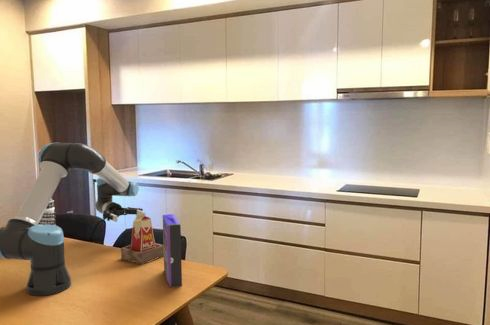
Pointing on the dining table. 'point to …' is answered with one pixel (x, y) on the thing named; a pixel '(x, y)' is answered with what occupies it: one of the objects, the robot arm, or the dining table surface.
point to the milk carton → (142, 234)
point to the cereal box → (172, 250)
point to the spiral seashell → (48, 214)
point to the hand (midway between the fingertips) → (130, 216)
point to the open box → (142, 254)
